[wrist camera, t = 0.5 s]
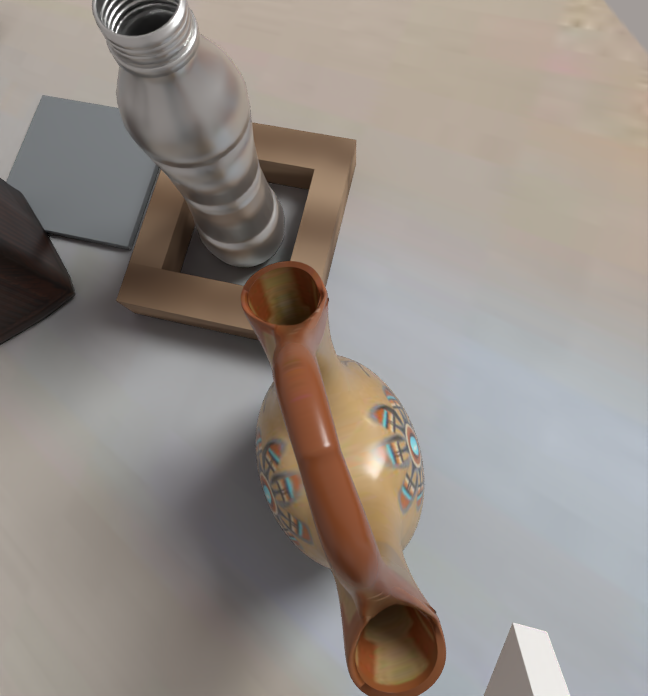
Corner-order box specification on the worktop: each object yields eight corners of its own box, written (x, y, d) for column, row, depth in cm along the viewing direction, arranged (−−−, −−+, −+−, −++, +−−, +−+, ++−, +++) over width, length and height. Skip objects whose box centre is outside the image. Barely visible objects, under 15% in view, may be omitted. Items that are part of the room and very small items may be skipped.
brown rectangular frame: (309, 351, 35) (305, 341, 32) (134, 313, 37) (115, 300, 34) (355, 164, 39) (356, 139, 36) (193, 136, 40) (181, 110, 37)
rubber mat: (130, 249, 38) (127, 246, 37) (-4, 222, 39) (-10, 218, 39) (174, 122, 40) (172, 117, 40) (46, 100, 42) (42, 95, 41)
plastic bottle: (241, 292, 37) (115, 105, 17) (191, 231, 38) (23, -6, 19) (306, 242, 37) (256, 7, 18) (254, 184, 39) (156, -93, 19)
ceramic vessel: (249, 369, 35) (20, 171, 11) (364, 331, 35) (392, 54, 11) (315, 600, 31) (192, 1088, 7) (444, 557, 32) (755, 890, 7)
